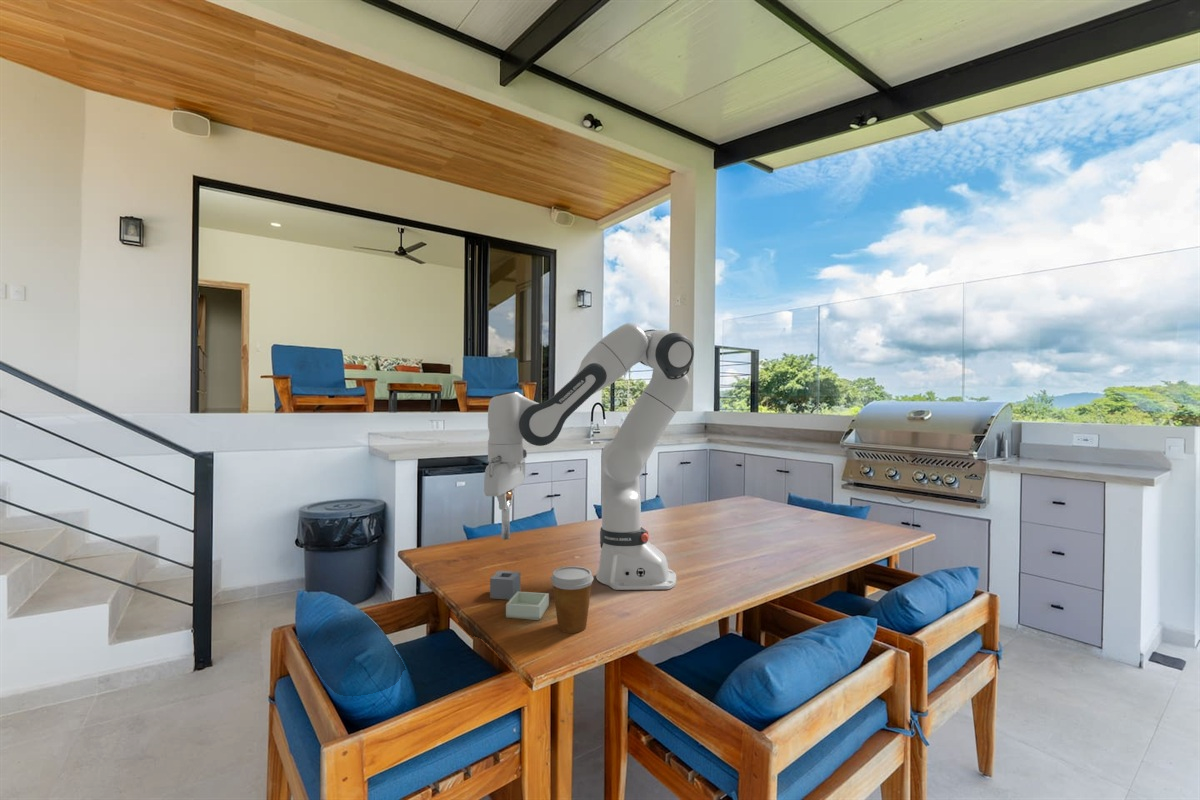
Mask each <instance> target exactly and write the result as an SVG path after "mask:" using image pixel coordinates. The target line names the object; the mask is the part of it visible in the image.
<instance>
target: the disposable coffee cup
mask: <svg viewBox="0 0 1200 800" xmlns="http://www.w3.org/2000/svg"><path fill="white" fill-rule="evenodd" d="M594 579H595V578H594V576H593V573H592V570H590V569H589V568H587V567H583V566H576V565H575V566H574V565H571V566H563V567H559V568H556V569H555V570H553V572H552V576H551V577H550V582H551V584H552V587H553V594H554V596H553V597H554V605H555V614H556V621H557V628H558V629H559V631H560V632H563V633H566V634H567V633H568V634H571V633H572V634H576V633H580V632H583V631H584V630H585V629H587V623H588V617H589V615H588V614H589V609H590V607H589V605H590V600H591V599H590V597H591V591H592V590H591V589H592V584H593V581H594ZM582 630H583V631H582Z"/></svg>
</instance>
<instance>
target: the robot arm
mask: <svg viewBox="0 0 1200 800" xmlns="http://www.w3.org/2000/svg"><path fill="white" fill-rule="evenodd" d="M694 357H695V347H694V345H693V343H692V341H691V340H690V339H689V338H688V337H687V336H685V335H684V334H681V333H679V332H674V331H671V330H666V329H665V330H664V329H663V330H662V329H661V330H660V329H646V330H644V329H643V328H642V327H640V326H639V325H637V324H635V323H631V322H629V323H627V322H626V323H624V324H622V325H621V326H619V327H617V328H615V329H614V330H612V331H611V332H609V333H608V334H607V335H606V336H604V337H603V338H601V339H600V341H599V342H597V343H596V344H595V345H594V346H593V347H592V348H591V349H590V350H589V351H588V352H587V353H586V355H585V356H584V357H583V359H582V360H581V362H580V365H579V368H578V370H577V371H576V374H574V376H573V377H572V378H571V379H570V380H569V381H568V382H567V383H565V385H564V386H563V387H561V389H559V390H558V391H557V392H556V393H555V394H554V395H552V397H550V398H549V399H547V400H546V401H545V400H544V401H543V402H536V401H535V400H532V399H529V398H528V397H526V396H524V395H523V394H521V393H520V392H518V391H514V390H512V391H507V392H501V393H498V394H497V393H496V394H495V395H493V396H492V397H491V399H489V402H488V410H487V429H488V432H489V435H488V439H487V462H489V463H488V465H486V467H485V470H484V480H483V481H484V482H483V491H484V492H483V493H484V495H485V497H495V498H497V502H498V509H499V510H501V511H502V510H505V509H506V508H507V507H508V506H507V505H508V502H506V492H508V491H511V492H512V498H510V499H509V508H510V507H512V505H513V498H514V495H515V488H517V487H519V486H522V485H523V484H524V482H525V478H526V463H527V462H526V459H527V458H528V450H527V449H525V447H524V446H523V440H525V441H526V442H528V444H530V445H534V446H538V447H542V446H543V447H544V446H547V445H549V444H551V443H553V442H554V441H555V440H556V439H557V438H558V436H559V435H560V433H561V431H562V429H563V426H564V424H565V423H566V421H567V419H568V418H569V417H570V416H571V415H572V414H573V413H574V412H576V410H577V409H579V408H580V407H581V406H582V405H583V404H584V403H585V402H586V401H587V400H588V399H590V397H592V396H593V395H594V394H596V393H598V392H600V391H601V390H603V389H605V388H607V387H609V386H611V385H612V384H613V383H615V382H616V381H618V380H619V379H621V378H622V377H623V376H624V375H625V374H626V373H627V372H628V371H630V370H631V369H632V368H633V367H634V366H635V365H637V364H638V363H640V364H642V365H644V366H646V367H648V368H650V369H652V374H651V378H650V381H649V383H648V384H647V385H646V387H645V388H644V389H643V391H642V392H641V394H640V396H639V397H638V399H637V400H636V401H635V403H634V405H633V406H632V407H631V409H630V410H629V412H628V414H627V415H626V416H625V419H624V420H623V422H622V424H621V426H620V427H619V429H618V431H617V432H616V434H615V436H614V438H613V439H611V440H610V441H608V442H607V443H606V444H605V445H604V447H603V448H602V450H601V454H600V455H601V456H600V463H601V464H600V465H601V466H600V468H601V469H600V470H601V471H600V472H601V474H600V476H601V477H600V478H601V479H600V480H601V527H600V530H599V544H600V557H599V564H598V569H597V572H596V576H595V578H596V579H597V581H598V582H600V583H601V584H604V585H605V586H608V587H610V588H612V589H613V590H616V591H617V590H618V591H620V590H621V591H623V590H625V591H628V590H629V591H631V590H635V591H637V590H646V591H647V590H670V589H672V588H674V587H675V585H676V584H677V574H676V573H675V571H674V570H672V569H671V568H669V564H668V563H669V562H668V559H667V556H666V554H664V553H663V552H662V551H661V550H660V549H658V548H657V547H656V546H655V545H653V544H652V543H650V541H649V538H650V536H649V531H648V529H647V528H643V526H642V509H641V507H642V503H641V502H642V498H641V489H640V488H641V485H640V474H641V472H642V470H643V469H644V467H645V465H646V464H647V463H648V460H649V459H650V457H651V454H652V453H653V451H654V449H655V447H656V445H657V443H658V441H659V440H660V438H661V436H662V434H663V433H664V432H665V430H666V428H667V427H668V426H669V424H670V422H671V421H672V419H673V418H674V416H675V415H676V413H677V412H678V410H679V409H680V407H681V406H682V405H681V404H682V403H683V401H684V399H685V398H686V395H687V392H688V390H689V387H690V378H689V377H688V373H689V372H690V368H691V366H692V363H693V360H694Z"/></svg>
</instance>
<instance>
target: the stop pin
mask: <svg viewBox="0 0 1200 800" xmlns="http://www.w3.org/2000/svg"><path fill="white" fill-rule="evenodd" d="M510 498H512V492H511V491H508V492H506V502H508V505H507V506H508V507H507V508H506V509H505V510H501V539H502V540H510V537H511V533H510V529H511V527H510V517H511V516H510V507H509V499H510ZM512 499H513V498H512Z"/></svg>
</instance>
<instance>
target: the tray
mask: <svg viewBox="0 0 1200 800" xmlns="http://www.w3.org/2000/svg"><path fill="white" fill-rule="evenodd" d="M548 607H550V593H548V592H547V593H546V592H534V591H533V592H531V591H530V592H529V591H520V592H519V591H517V593H516V594H515V595H514V596H513V597H512V598H511V599H510V600H508V601H507V602H506V604H505V618H510V619H511V618H512V619H521V620H522V619H523V620H534V621H536V620H537V621H540V620H541V618H542V617H543V615H544V614H545V612H546V610H547V609H548Z"/></svg>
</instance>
